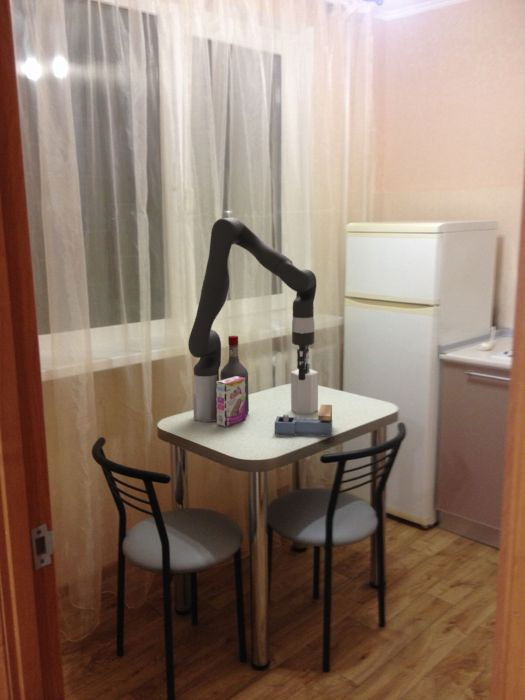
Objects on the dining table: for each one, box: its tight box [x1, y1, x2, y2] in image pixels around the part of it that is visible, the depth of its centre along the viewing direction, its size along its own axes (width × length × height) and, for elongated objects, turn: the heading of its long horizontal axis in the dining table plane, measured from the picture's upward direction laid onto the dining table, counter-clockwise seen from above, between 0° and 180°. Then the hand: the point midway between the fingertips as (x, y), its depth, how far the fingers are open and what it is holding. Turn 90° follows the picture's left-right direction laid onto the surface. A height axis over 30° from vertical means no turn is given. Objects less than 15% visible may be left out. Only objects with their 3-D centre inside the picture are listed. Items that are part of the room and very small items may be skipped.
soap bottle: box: [290, 362, 319, 415], centre depth 246 cm, size 10×9×22 cm
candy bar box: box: [216, 376, 247, 428], centre depth 233 cm, size 11×5×16 cm, turn 141°
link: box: [274, 415, 333, 437], centre depth 222 cm, size 20×7×4 cm, turn 81°
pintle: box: [282, 414, 290, 422], centre depth 223 cm, size 2×2×6 cm
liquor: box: [219, 335, 250, 415], centre depth 242 cm, size 9×9×30 cm
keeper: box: [317, 404, 333, 421], centre depth 222 cm, size 4×13×8 cm, turn 171°
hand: (303, 376), depth 218 cm, fingers open, 8 cm apart
